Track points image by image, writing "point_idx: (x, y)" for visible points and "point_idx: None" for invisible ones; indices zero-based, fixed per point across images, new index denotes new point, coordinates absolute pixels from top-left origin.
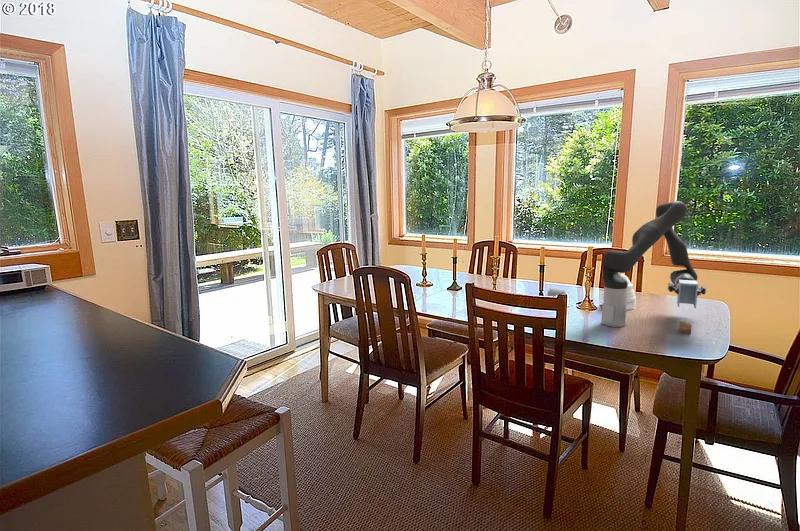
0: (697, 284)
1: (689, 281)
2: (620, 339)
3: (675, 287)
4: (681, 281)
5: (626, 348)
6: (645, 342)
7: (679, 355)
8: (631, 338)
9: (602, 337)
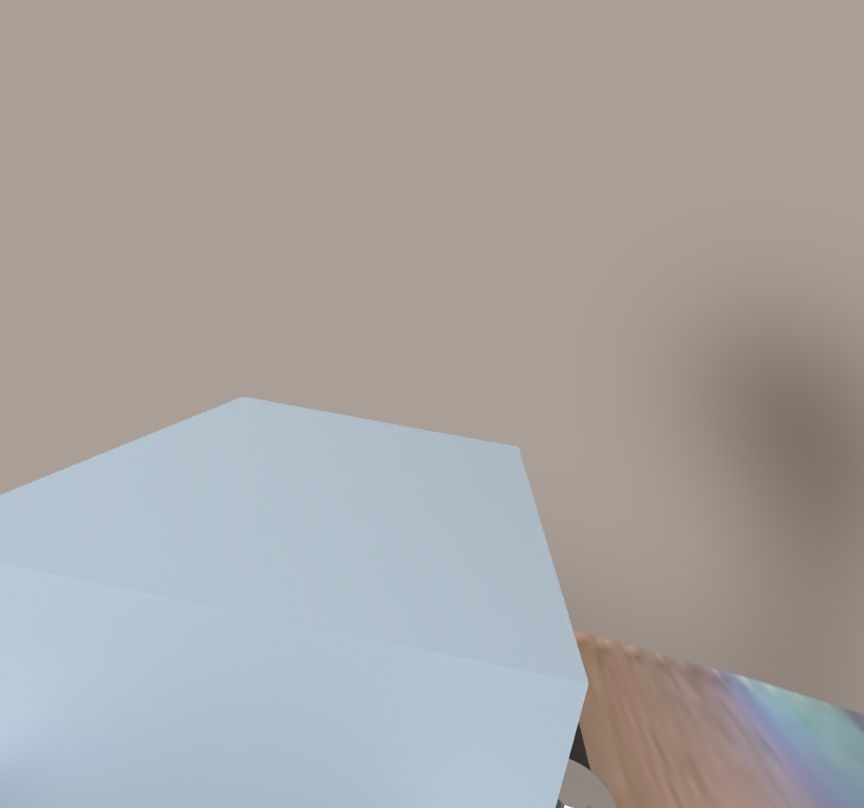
0: (251, 403)
1: (287, 487)
2: (743, 771)
3: (584, 790)
4: (487, 499)
5: (645, 654)
6: (597, 742)
7: None
8: (700, 804)
9: (851, 789)
